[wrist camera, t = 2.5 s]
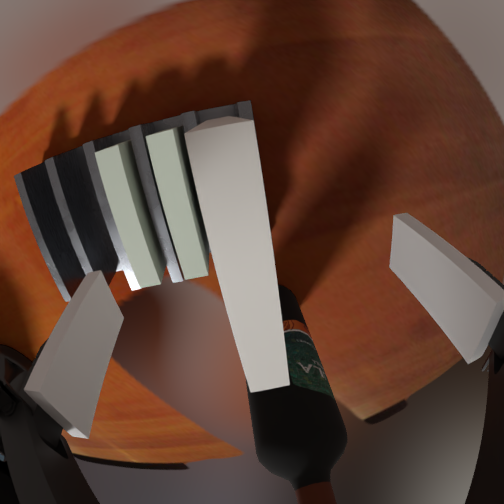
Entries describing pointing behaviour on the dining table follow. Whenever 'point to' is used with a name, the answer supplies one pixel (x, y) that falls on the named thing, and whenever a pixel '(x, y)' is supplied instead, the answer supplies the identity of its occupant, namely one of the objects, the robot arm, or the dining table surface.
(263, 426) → the wine bottle
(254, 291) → the tall sheet
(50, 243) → the rack
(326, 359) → the dining table surface
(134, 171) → the offcut
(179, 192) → the offcut
